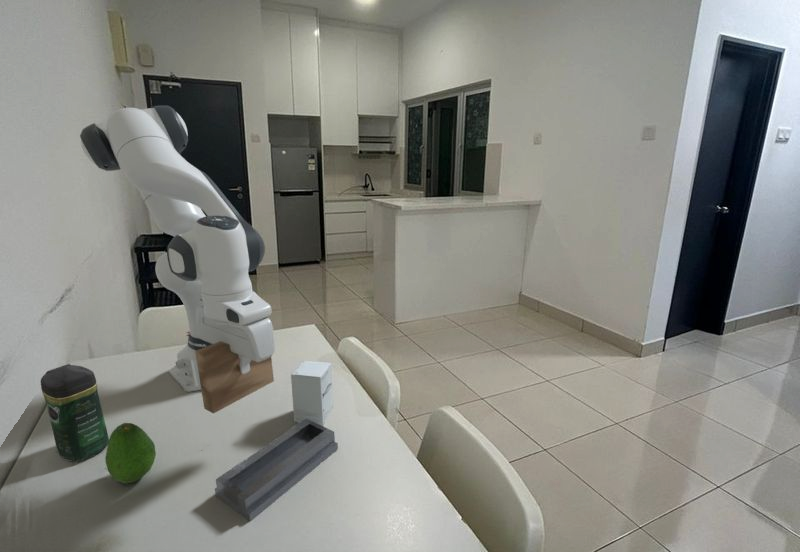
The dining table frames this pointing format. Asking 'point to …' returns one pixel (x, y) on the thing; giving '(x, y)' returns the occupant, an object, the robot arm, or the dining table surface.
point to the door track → (275, 468)
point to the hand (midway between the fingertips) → (237, 368)
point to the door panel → (228, 376)
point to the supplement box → (312, 391)
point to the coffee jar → (75, 411)
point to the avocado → (129, 453)
